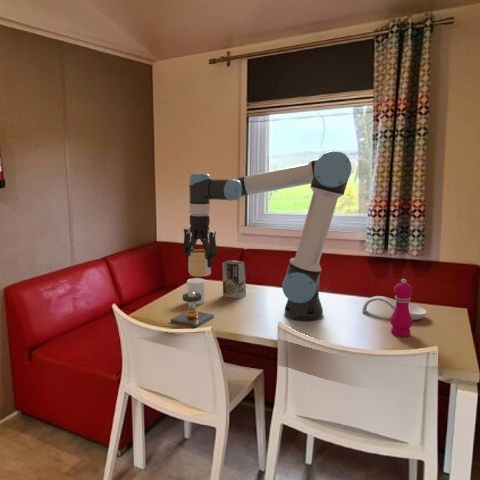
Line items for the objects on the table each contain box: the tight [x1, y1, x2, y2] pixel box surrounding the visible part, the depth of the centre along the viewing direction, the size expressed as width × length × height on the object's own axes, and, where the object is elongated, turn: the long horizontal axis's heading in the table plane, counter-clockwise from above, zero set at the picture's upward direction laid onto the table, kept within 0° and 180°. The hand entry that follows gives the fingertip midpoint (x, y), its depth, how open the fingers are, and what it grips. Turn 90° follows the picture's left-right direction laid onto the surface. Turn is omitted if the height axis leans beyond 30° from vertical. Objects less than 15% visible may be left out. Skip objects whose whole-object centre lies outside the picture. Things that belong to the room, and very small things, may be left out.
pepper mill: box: [389, 278, 414, 338], centre depth 140 cm, size 7×7×20 cm
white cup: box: [186, 277, 206, 306], centre depth 177 cm, size 8×8×10 cm
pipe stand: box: [170, 291, 215, 329], centre depth 156 cm, size 12×12×11 cm
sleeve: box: [189, 248, 207, 278], centre depth 155 cm, size 7×7×9 cm
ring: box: [182, 292, 201, 303], centre depth 155 cm, size 7×7×2 cm
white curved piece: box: [361, 295, 428, 321], centre depth 159 cm, size 24×12×7 cm, turn 68°
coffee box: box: [221, 259, 247, 300], centre depth 185 cm, size 9×6×16 cm
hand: (199, 273), depth 156 cm, fingers closed on sleeve, 7 cm apart
